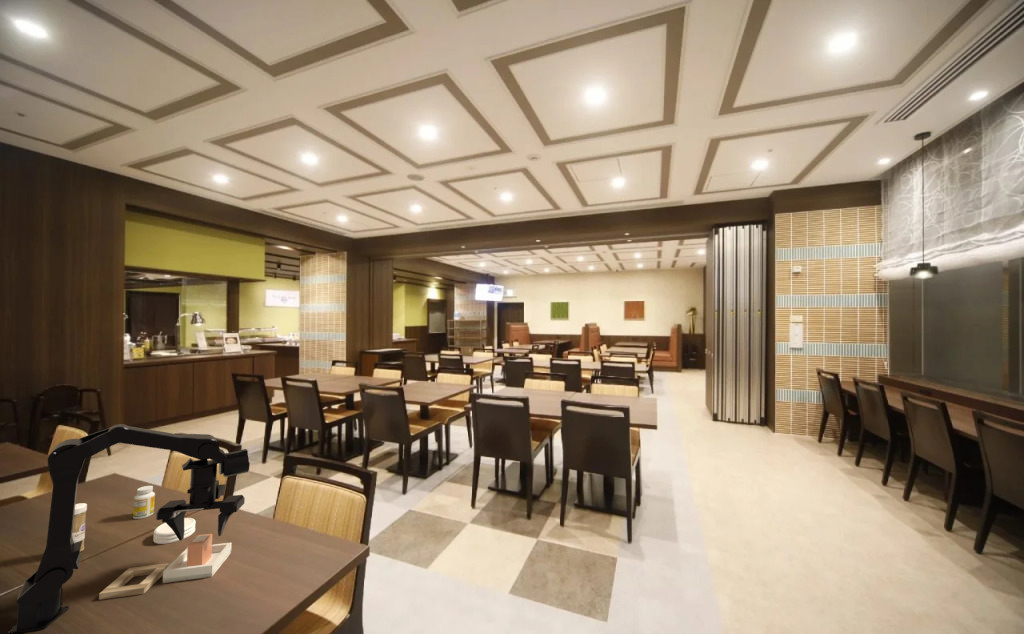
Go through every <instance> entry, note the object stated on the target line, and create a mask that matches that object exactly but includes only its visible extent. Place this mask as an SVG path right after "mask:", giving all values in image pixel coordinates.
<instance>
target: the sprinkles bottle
mask: <svg viewBox="0 0 1024 634" xmlns="http://www.w3.org/2000/svg"><path fill="white" fill-rule="evenodd" d="M87 511H88V504H87V503H85V502H82V503H81V502H80V503H76V504H75V513H74V522H73V531H72V538H73V541H74V543H76V542H79V541H82V545H81V549H80V552H82V551H84V550H85V538H86V515H87V513H86V512H87Z"/></svg>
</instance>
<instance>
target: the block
mask: <svg viewBox="0 0 1024 634" xmlns="http://www.w3.org/2000/svg"><path fill="white" fill-rule="evenodd" d="M212 545H213V533H206V534H199V535H196V537H195V538H194V539H193V540H192V541H190V543H188V544H187V548H188V552H187V567H190V566H198V565H205V564H206V563H207V561H208V560H209V559H210V558H211V554H212Z"/></svg>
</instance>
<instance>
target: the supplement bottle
mask: <svg viewBox="0 0 1024 634" xmlns="http://www.w3.org/2000/svg"><path fill="white" fill-rule="evenodd" d="M153 490H154V486H153V485H145V486H141V487H139V488H137V490H136V495H135V496H134V497H133V507H132V518H133V519H134V520H141V519H145V518H148V517H151V516H152V515H153V514H155V501H156V499H155V498H156V493H155V492H154V491H153Z"/></svg>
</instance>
